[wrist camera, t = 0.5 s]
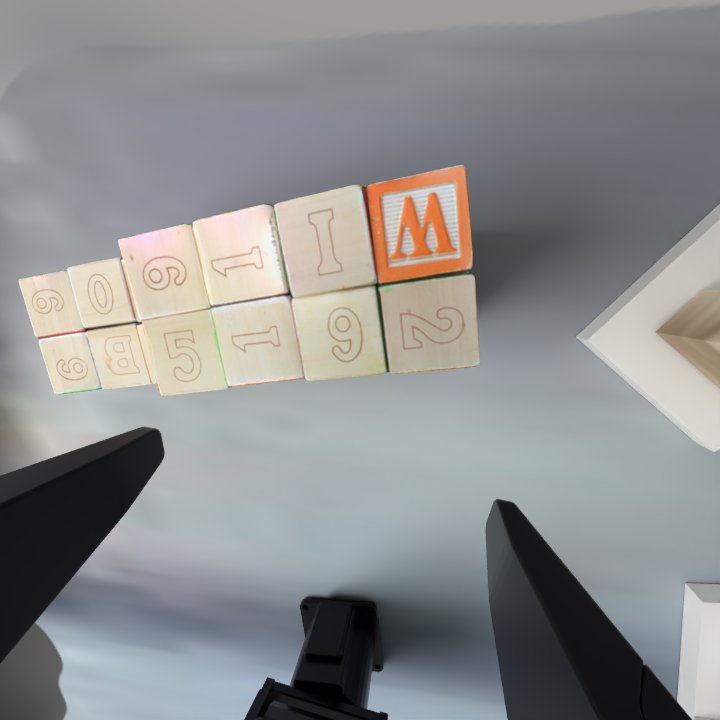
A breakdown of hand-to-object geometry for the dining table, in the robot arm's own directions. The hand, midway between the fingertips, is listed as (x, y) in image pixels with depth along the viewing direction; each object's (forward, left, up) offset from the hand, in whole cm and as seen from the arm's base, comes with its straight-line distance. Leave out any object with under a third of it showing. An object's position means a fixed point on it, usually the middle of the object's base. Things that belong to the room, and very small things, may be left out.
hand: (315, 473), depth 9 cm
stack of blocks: (+4, +6, -16) cm, 18 cm away
